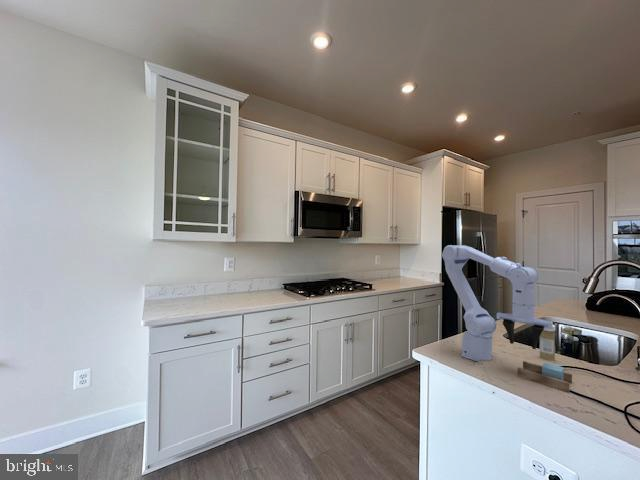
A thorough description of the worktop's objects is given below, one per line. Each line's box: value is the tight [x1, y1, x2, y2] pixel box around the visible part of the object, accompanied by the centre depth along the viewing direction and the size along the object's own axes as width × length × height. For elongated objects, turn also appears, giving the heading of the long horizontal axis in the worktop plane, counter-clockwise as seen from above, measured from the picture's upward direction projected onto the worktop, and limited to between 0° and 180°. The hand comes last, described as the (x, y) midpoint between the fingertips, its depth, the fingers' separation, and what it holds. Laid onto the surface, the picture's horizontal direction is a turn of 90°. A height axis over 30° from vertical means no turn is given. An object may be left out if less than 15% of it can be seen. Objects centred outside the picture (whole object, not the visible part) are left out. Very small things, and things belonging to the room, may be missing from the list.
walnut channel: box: [517, 360, 573, 394], centre depth 84 cm, size 12×8×4 cm
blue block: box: [541, 362, 565, 380], centre depth 82 cm, size 4×4×4 cm
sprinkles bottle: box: [539, 324, 556, 362], centre depth 100 cm, size 5×5×14 cm
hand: (522, 345), depth 88 cm, fingers open, 5 cm apart
